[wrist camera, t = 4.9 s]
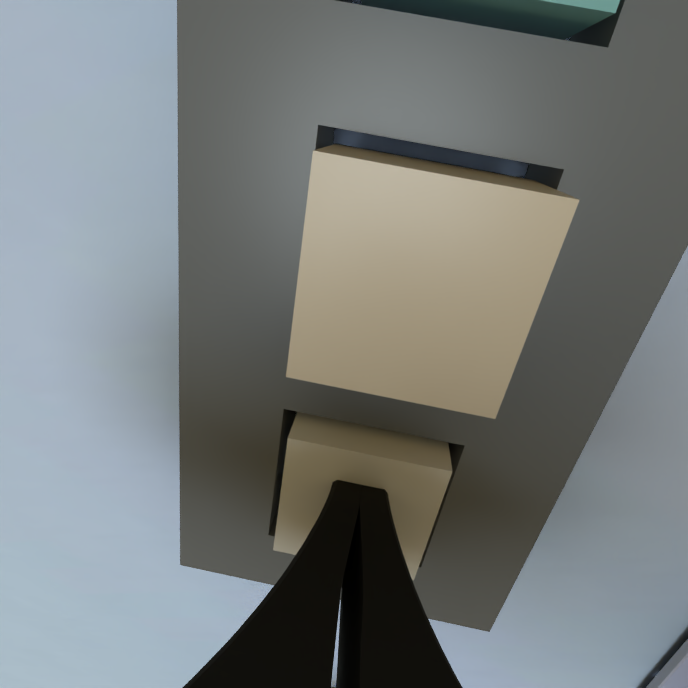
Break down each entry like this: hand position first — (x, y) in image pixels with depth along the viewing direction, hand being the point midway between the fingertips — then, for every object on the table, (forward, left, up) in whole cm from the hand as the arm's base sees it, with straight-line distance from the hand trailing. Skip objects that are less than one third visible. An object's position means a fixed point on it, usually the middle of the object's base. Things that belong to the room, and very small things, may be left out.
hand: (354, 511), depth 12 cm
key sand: (+6, 0, -1) cm, 7 cm away
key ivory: (0, 0, -2) cm, 2 cm away
